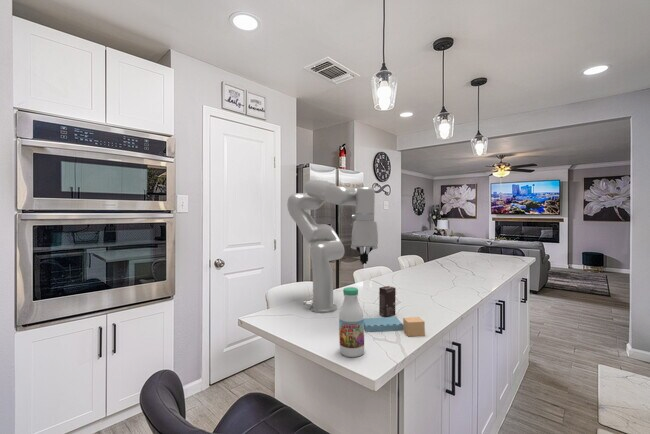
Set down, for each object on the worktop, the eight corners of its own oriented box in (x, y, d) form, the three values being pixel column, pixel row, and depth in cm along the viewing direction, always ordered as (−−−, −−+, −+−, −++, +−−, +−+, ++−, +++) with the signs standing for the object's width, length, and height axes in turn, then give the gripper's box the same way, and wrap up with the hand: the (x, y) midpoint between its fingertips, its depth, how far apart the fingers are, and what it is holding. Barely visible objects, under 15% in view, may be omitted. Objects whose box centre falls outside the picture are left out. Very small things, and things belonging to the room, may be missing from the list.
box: (386, 318, 123) (385, 289, 123) (379, 315, 126) (378, 287, 127) (396, 315, 126) (395, 287, 126) (389, 312, 130) (388, 285, 130)
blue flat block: (366, 332, 108) (366, 325, 108) (361, 323, 117) (361, 317, 117) (403, 330, 109) (403, 324, 109) (396, 321, 118) (396, 316, 118)
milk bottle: (338, 347, 95) (336, 286, 96) (361, 346, 96) (360, 285, 96) (341, 358, 88) (340, 291, 88) (366, 357, 88) (365, 290, 89)
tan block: (408, 336, 103) (407, 322, 103) (403, 331, 108) (403, 317, 108) (424, 335, 103) (424, 321, 103) (419, 330, 108) (418, 317, 108)
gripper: (347, 218, 113) (346, 265, 114) (385, 218, 114) (384, 265, 115) (345, 217, 121) (344, 261, 121) (380, 217, 122) (379, 261, 122)
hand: (363, 263), depth 118 cm, fingers closed
